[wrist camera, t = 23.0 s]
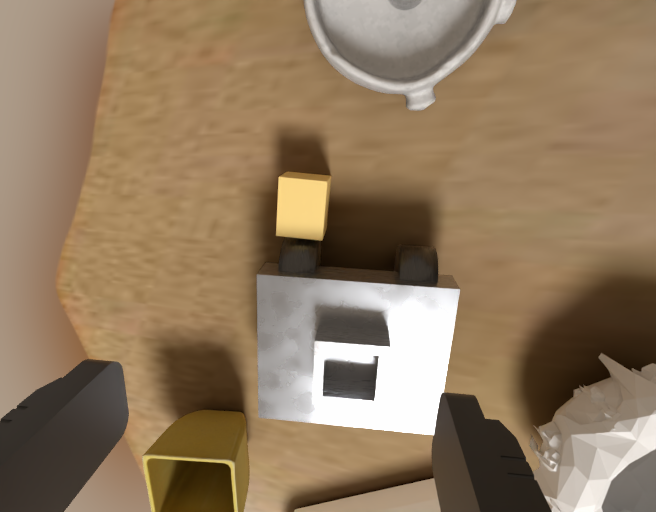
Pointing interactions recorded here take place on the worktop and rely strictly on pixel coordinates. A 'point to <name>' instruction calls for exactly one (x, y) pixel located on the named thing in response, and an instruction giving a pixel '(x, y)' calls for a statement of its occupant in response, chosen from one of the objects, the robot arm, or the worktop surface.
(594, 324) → the worktop surface
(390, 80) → the dish
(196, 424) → the flower pot
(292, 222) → the pale yellow block
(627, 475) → the bowl
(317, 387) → the dolly
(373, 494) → the white faceted prism
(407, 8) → the pin
